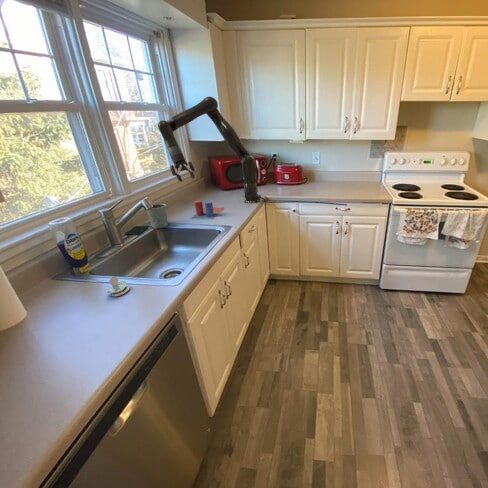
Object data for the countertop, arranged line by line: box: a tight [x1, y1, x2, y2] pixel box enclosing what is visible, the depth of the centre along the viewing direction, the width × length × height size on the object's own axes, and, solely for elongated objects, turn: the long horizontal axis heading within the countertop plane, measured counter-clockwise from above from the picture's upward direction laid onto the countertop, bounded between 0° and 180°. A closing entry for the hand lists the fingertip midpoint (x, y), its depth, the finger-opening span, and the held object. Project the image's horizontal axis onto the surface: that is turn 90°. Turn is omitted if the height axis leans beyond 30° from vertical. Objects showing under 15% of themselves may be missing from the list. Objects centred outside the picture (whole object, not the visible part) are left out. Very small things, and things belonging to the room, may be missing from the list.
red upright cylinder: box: [194, 199, 205, 216], centre depth 179 cm, size 5×5×9 cm
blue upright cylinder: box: [204, 200, 215, 218], centre depth 177 cm, size 5×5×9 cm
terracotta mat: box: [203, 206, 225, 213], centre depth 191 cm, size 13×9×1 cm
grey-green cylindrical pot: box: [146, 203, 169, 229], centre depth 161 cm, size 10×10×12 cm
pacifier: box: [104, 275, 131, 297], centre depth 101 cm, size 7×6×6 cm
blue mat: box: [191, 212, 219, 219], centre depth 179 cm, size 13×10×1 cm
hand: (187, 179), depth 179 cm, fingers open, 8 cm apart
